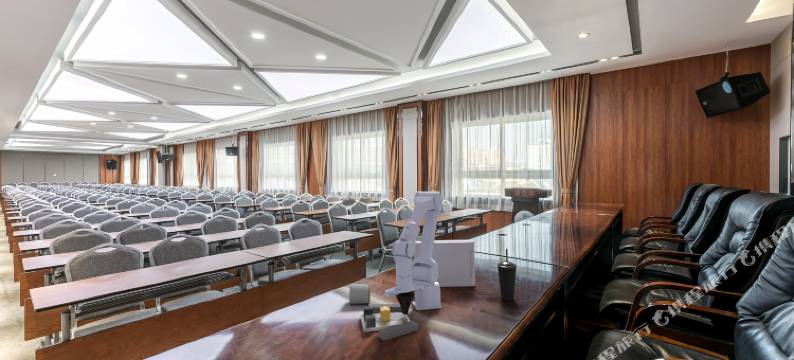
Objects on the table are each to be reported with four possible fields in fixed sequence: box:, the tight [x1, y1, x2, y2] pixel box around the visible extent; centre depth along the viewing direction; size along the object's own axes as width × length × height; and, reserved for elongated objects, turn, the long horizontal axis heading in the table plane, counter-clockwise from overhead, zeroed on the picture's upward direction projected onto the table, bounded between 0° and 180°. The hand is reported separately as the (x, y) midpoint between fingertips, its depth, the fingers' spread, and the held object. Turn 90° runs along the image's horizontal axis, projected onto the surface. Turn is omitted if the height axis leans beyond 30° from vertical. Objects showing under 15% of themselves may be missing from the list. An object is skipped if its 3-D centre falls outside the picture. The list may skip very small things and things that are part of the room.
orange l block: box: [380, 306, 390, 321], centre depth 121 cm, size 3×3×4 cm
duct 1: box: [371, 303, 402, 314], centre depth 129 cm, size 13×3×3 cm, turn 90°
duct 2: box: [378, 320, 419, 342], centre depth 113 cm, size 13×3×2 cm, turn 121°
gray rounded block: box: [348, 283, 371, 305], centre depth 141 cm, size 11×8×8 cm
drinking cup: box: [496, 248, 518, 302], centre depth 140 cm, size 8×8×20 cm
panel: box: [360, 305, 411, 333], centre depth 121 cm, size 16×11×4 cm
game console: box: [413, 239, 476, 288], centre depth 159 cm, size 6×27×20 cm, turn 89°
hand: (405, 313), depth 122 cm, fingers closed
